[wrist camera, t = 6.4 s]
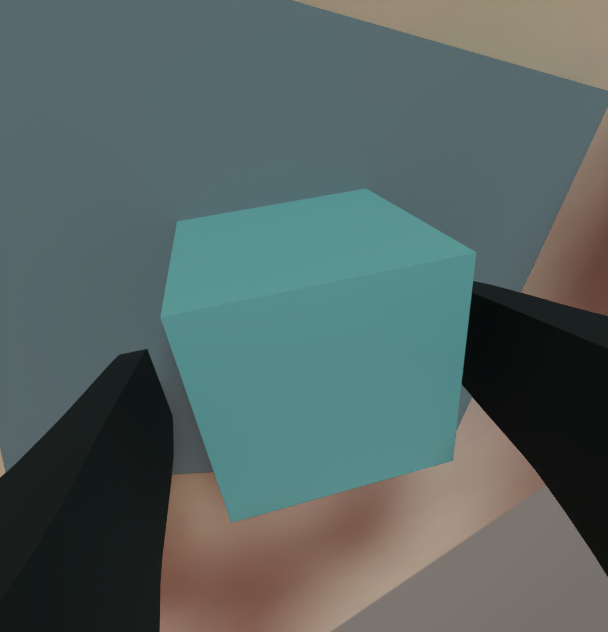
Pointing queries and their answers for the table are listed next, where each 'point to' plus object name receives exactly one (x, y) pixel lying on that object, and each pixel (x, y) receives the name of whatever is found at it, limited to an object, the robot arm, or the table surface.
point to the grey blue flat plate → (237, 165)
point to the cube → (318, 344)
